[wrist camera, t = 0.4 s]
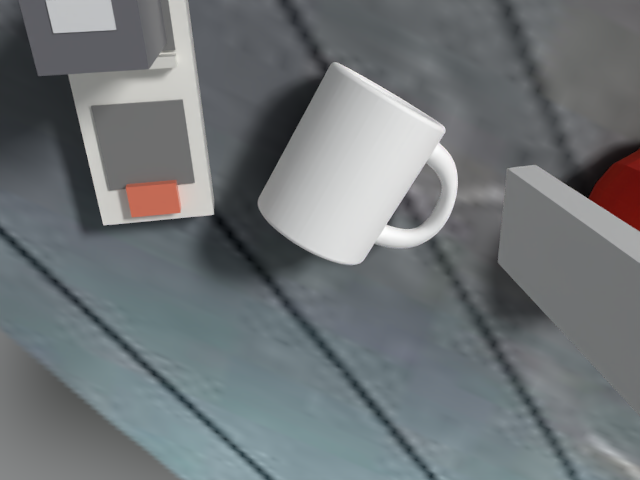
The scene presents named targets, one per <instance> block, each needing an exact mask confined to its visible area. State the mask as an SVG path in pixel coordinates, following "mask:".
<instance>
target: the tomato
mask: <svg viewBox="0 0 640 480" xmlns="http://www.w3.org/2000/svg"><path fill="white" fill-rule="evenodd" d="M588 199H589V200H591V201H593V202H594V203H596V204H597V205H599V206H600V207H602V208H604V209H605V210H607V211H608V212H610V213H611V214H613V215H614V216H616V217H618V218H619V219H621V220H622V221H624V222H625V223H627V224H629V225H630V226H632V227H633V228H635V229H636V230H638V231H639V232H640V149H638V150H637V151H636V152H634V153H632V154H630V155H629V156H627V157H625V158H623V159H621V160H619V161H618V162H616V163H614V164H612V165H611V167H610V168H609V169H608V170H607V171H606V172H605V173H604V175H603V176H602V177H601V178H600V179H599V180H598V181H597V182H596V184H595V185H594V187H593V189H592V192H591V194H590V196H589V198H588Z"/></svg>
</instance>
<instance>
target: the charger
mask: <svg viewBox="0 0 640 480" xmlns="http://www.w3.org/2000/svg"><path fill="white" fill-rule="evenodd" d="M19 4H20V8H21V12H22V16H23V20H24V24H25V28H26V31H27V35H28V39H29V43H30V47H31V51H32V55H33V58H34V62H35V66H36V70H37V74H38V76H49V75H65V74H81V73H97V72H113V71H129V70H145V69H149V68H150V67H151V66H152V64H153V63H154V61H155V60H156V58H157V57H158V55H159V54H160V53H161V51H162V50H163V48H164V47H165V45H166V44H167V39H166V33H165V26H164V20H163V13H162V6H161V0H19Z"/></svg>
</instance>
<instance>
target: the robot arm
mask: <svg viewBox="0 0 640 480" xmlns="http://www.w3.org/2000/svg"><path fill="white" fill-rule="evenodd" d="M498 263H499V265H500V266H501V267H502V268H503V269H504V270H505V271H506V272H507V273H508V274H509V275H510V276H511V277H512V279H513V280H514V281H515V282H516V283H517V284H518V285H519V286H520V287H521V288H522V289H523V290H524V292H525V293H526V294H527V295H528V296H529V297H530V298H531V299H532V300H533V301H534V302H535V303H536V304H537V306H538V307H539V308H540V309H541V310H542V311H543V312H544V313H545V314H546V315H547V316H548V317H549V318H550V320H551V321H552V322H553V323H554V324H555V325H556V326H557V327H558V328H559V329H560V330H561V331H562V333H563V334H564V335H565V336H566V337H567V338H568V339H569V340H570V341H571V342H572V343H573V344H574V345H575V347H576V348H577V349H578V350H579V351H580V352H581V353H582V354H583V355H584V356H585V357H586V358H587V359H588V361H589V362H590V363H591V364H592V365H593V366H594V367H595V368H596V369H597V370H598V371H599V372H600V374H601V375H602V376H603V377H604V378H605V379H606V380H607V381H608V382H609V383H610V384H611V385H612V386H613V388H614V389H615V390H616V391H617V392H618V393H619V394H620V395H621V396H622V397H623V398H624V399H625V400H626V402H627V403H628V404H629V405H630V406H631V407H632V408H633V409H634V410H635V411H636V412H637V413H638V415H639V416H640V232H639V231H638V230H636V229H635V228H633V227H632V226H630V225H629V224H627V223H625V222H624V221H622V220H621V219H619V218H618V217H616V216H614V215H613V214H611V213H610V212H608V211H607V210H605V209H604V208H602V207H600V206H599V205H597V204H596V203H594V202H593V201H591V200H589V199H588V198H586V197H585V196H583V195H582V194H580V193H579V192H577V191H575V190H574V189H572V188H571V187H569V186H568V185H566V184H565V183H563V182H561V181H560V180H558V179H557V178H555V177H554V176H552V175H550V174H549V173H547V172H546V171H544V170H543V169H541V168H540V167H538V166H536V165H531V166H522V167H514V168H507V175H506V185H505V195H504V205H503V215H502V225H501V234H500V244H499V254H498Z"/></svg>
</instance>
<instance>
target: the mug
mask: <svg viewBox="0 0 640 480" xmlns="http://www.w3.org/2000/svg"><path fill="white" fill-rule="evenodd" d="M444 133H445V127H444V126H443V125H442V124H440V123H439V122H437V121H436V120H434V119H433V118H431V117H430V116H428V115H427V114H425V113H424V112H422V111H420V110H419V109H417V108H416V107H414V106H412V105H411V104H409V103H408V102H406V101H404V100H403V99H401V98H399V97H398V96H396V95H394V94H393V93H391V92H389V91H388V90H386V89H384V88H383V87H381V86H379V85H377V84H376V83H374V82H372V81H371V80H369V79H367V78H365V77H364V76H362V75H360V74H358V73H356V72H355V71H353V70H351V69H349V68H347V67H345V66H343V65H341V64H339V63H336V62H333V63H332V64H331V65H330V66H329V68H328V70H327V72H326V74H325V76H324V78H323V79H322V81H321V83H320V85H319V87H318V89H317V91H316V92H315V94H314V96H313V98H312V100H311V102H310V104H309V105H308V107H307V109H306V111H305V113H304V115H303V117H302V118H301V120H300V122H299V124H298V126H297V128H296V130H295V131H294V133H293V135H292V137H291V139H290V141H289V143H288V144H287V146H286V148H285V150H284V152H283V154H282V156H281V157H280V159H279V161H278V163H277V165H276V167H275V169H274V170H273V172H272V174H271V176H270V178H269V180H268V182H267V183H266V185H265V187H264V189H263V191H262V193H261V195H260V196H259V199H258V207H259V210H260V212H261V214H262V215H263V217H264V218H265V219H266V220H267V221H268V222H269V224H270V225H271V226H273V227H274V228H275V229H276V230H277V231H278V232H279V233H281V234H282V235H283V236H284V237H286V238H287V239H289V240H290V241H292V242H293V243H295V244H296V245H298V246H299V247H301V248H303V249H305V250H307V251H308V252H310V253H312V254H314V255H317V256H319V257H321V258H324V259H326V260H329V261H332V262H335V263H339V264H344V265H356V264H359V263H361V262H362V261H363V260H364V259H365V257H366V256H367V254H368V253H369V251H370V250H371V248H372V246H373V245H374V244H377V245H380V246H384V247H388V248H396V249H404V248H411V247H414V246H417V245H420V244H422V243H424V242H426V241H428V240H429V239H430V238H432V237H433V236H434V235H435V234H437V233H438V232H439V231H440V229H441V228H442V227H443V226H444V224H445V223H446V221H447V220H448V218H449V216H450V214H451V212H452V209H453V206H454V203H455V199H456V194H457V187H458V176H457V170H456V166H455V163H454V161H453V159H452V157H451V155H450V154H449V153H448V151H447V150H446V149H445V148H444V147H443V146H442V145H441V144H440V143H439V141H440V140H441V138H442V137H443V135H444ZM425 163H427V164H428V165H429V166H430V167H431V168H432V169H433V170H434V171H435V172H436V174H437V175H438V177H439V179H440V181H441V184H442V190H441V194H440V197H439V200H438V202H437V204H436V206H435V208H434V210H433V211H432V213H431V215H430V216H429V217H428V219H427V220H426V221H425V222H424V223H423V224H422V225H420V226H419V227H417V228H413V229H401V228H396V227H392V226H389V225H386V224H387V223H388V221H389V220H390V218H391V217H392V215H393V213H394V212H395V210H396V209H397V207H398V206H399V204H400V202H401V201H402V199H403V198H404V196H405V195H406V193H407V191H408V190H409V188H410V187H411V185H412V184H413V182H414V181H415V179H416V177H417V176H418V174H419V173H420V171H421V170H422V168H423V166H424V165H425Z"/></svg>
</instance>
